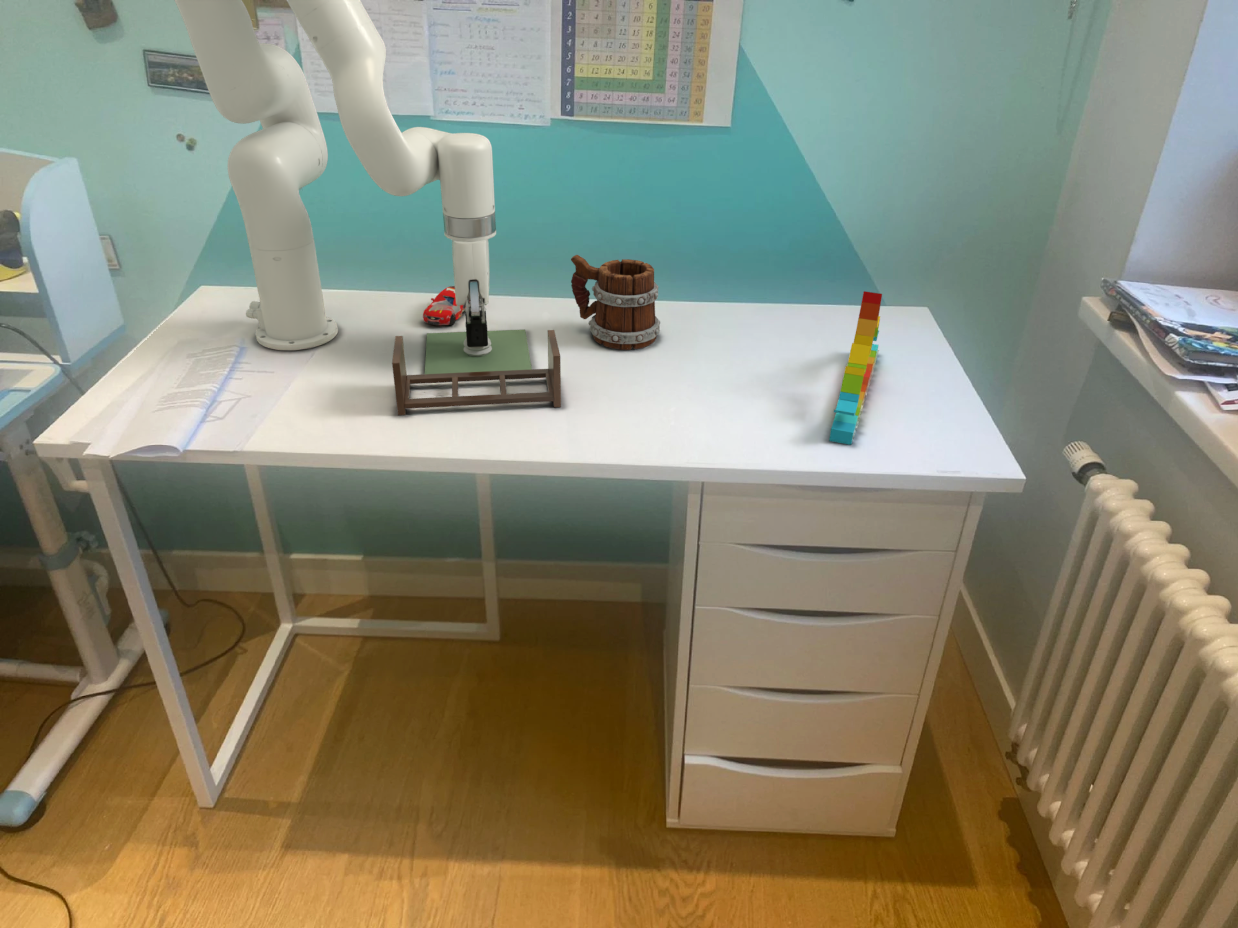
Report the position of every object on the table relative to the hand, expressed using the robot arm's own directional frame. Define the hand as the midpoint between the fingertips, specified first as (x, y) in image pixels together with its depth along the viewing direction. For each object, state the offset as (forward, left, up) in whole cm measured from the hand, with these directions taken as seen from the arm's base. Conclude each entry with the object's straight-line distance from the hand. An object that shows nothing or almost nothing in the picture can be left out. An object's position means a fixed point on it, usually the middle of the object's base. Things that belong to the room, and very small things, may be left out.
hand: (477, 339), depth 143 cm
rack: (+7, -13, -3) cm, 15 cm away
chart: (+57, +10, -3) cm, 58 cm away
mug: (+17, +15, -3) cm, 23 cm away
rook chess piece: (0, 0, -2) cm, 2 cm away
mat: (0, 0, -3) cm, 3 cm away
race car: (-12, +12, -3) cm, 17 cm away
